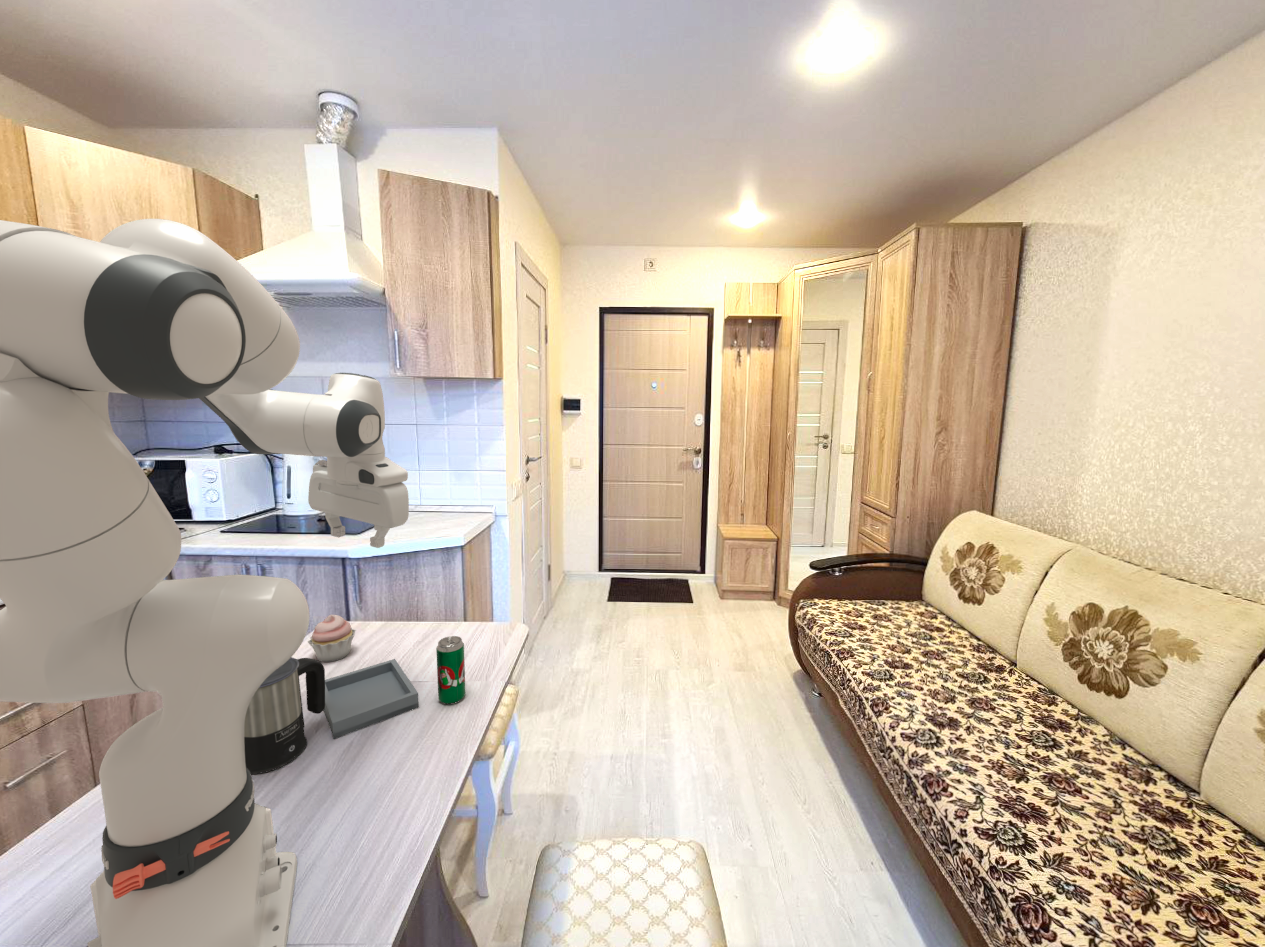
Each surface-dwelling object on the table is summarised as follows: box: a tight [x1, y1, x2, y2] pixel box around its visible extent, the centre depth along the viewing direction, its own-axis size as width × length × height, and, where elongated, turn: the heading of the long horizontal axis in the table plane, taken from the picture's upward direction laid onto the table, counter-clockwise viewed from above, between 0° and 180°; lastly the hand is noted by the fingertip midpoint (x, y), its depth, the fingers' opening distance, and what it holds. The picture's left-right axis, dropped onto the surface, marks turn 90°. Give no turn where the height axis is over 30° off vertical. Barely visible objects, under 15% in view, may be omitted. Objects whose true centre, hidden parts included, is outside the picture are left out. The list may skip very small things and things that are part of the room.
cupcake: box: [307, 614, 357, 663], centre depth 109 cm, size 9×9×10 cm
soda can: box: [436, 635, 466, 705], centre depth 94 cm, size 5×5×12 cm
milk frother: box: [244, 656, 326, 775], centre depth 80 cm, size 14×16×15 cm
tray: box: [323, 658, 420, 740], centre depth 93 cm, size 16×14×3 cm
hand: (357, 541), depth 87 cm, fingers open, 8 cm apart
